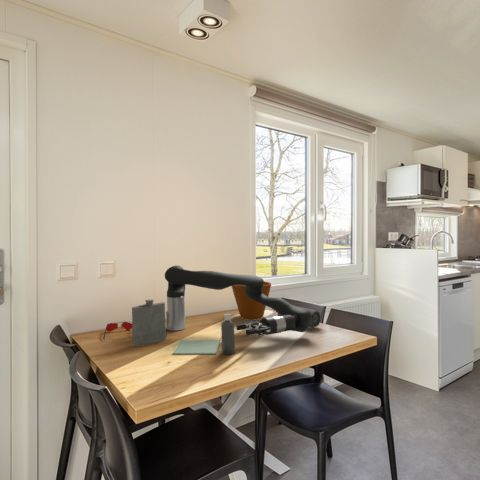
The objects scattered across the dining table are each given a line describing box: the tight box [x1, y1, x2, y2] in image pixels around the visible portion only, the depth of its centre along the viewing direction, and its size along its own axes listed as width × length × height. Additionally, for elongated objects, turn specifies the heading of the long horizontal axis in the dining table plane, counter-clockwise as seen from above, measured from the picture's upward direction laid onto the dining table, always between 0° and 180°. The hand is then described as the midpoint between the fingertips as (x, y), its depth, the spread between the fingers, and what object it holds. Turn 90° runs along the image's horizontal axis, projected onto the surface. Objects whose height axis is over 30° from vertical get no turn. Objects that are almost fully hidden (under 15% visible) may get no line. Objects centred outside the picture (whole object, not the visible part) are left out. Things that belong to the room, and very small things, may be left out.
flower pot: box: [231, 281, 272, 321], centre depth 206 cm, size 24×24×20 cm
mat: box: [171, 339, 221, 356], centre depth 151 cm, size 18×18×1 cm
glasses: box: [102, 321, 133, 340], centre depth 173 cm, size 14×16×5 cm
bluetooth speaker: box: [276, 305, 322, 328], centre depth 185 cm, size 23×9×10 cm, turn 42°
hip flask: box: [131, 299, 167, 347], centre depth 158 cm, size 16×4×20 cm, turn 130°
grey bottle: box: [220, 313, 236, 356], centre depth 143 cm, size 5×5×16 cm
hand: (241, 330), depth 146 cm, fingers open, 8 cm apart
